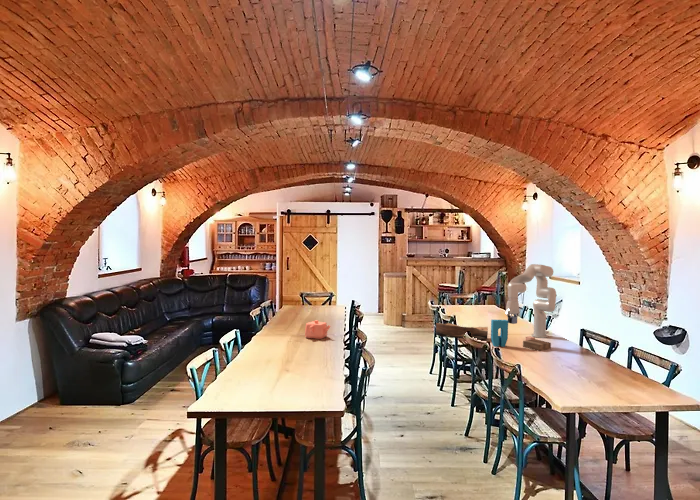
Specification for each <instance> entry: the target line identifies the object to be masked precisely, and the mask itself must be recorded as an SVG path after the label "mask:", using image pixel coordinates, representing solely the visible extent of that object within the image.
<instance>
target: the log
mask: <svg viewBox="0 0 700 500" xmlns="http://www.w3.org/2000/svg"><path fill="white" fill-rule="evenodd" d="M435 324H436V327H435V335H436V336H439V337H441V338H451V339H464V338H463V335H464V334H465V333H466V332H467V331H470V332H471V336H472V337H474V338H477V339H479V340H486V339H488V334H489V333H488V332H489V330H488V329H489V327H488V326H478V327H474V326H460V325H457V324H454V323H449V322H446V323H439V322H435ZM464 340H465V339H464Z"/></svg>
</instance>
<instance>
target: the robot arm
mask: <svg viewBox="0 0 700 500" xmlns="http://www.w3.org/2000/svg"><path fill="white" fill-rule="evenodd" d="M553 275H554V269H553V267H551V266H548V265H545V264H540V263H539V264H536V263H533V264H530V265H528V267H527V268H526V269H525V271H523V273H521V274H519V275H516V276H515V277H513V278H512V279H511V280H510V281H509V282H508V284H507V301H506V306H505V315H506V316H507V320H508V322H509V323H508V324H511V323H512V318H511V316H515V317H517V318H518V316H519V314H520V313H521V312H520V307H519V294H520V293H521V294H522V293H523V294H524V293H525V292H526V291H527V286H526V283H530V282H531V281H532V280H533V279H534V278H535V279H536V287H535V288H536V291H535V296H536V297H538V298H537V299H535V300H534V301H533V303H532V307H533V333H531V337H535V338H543V339H545V338H548V337H549V336H548V335H547V334H550V332H549V330H548V331H546V330H547V329H546V328H547V315H546V313H545V312H547V313H552V312H555V309H556V304H557V303H556V301H557V291H556V289H555V288H554V287H549V286H548V284H549V282H548V279H547V278H550V277H552V276H553ZM539 298H540V299H539Z"/></svg>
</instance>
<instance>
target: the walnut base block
mask: <svg viewBox="0 0 700 500" xmlns="http://www.w3.org/2000/svg"><path fill="white" fill-rule="evenodd" d="M525 340H526V339H525ZM525 340H523V342H522V347H523V348H525V349H528V350H534V351H537V352H541V351H546V350H552V349H551V348H552V347H551V346H552V343H551V342H548V341H546V340H540V339H536V338H535V339H533V340H526V341H525Z"/></svg>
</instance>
